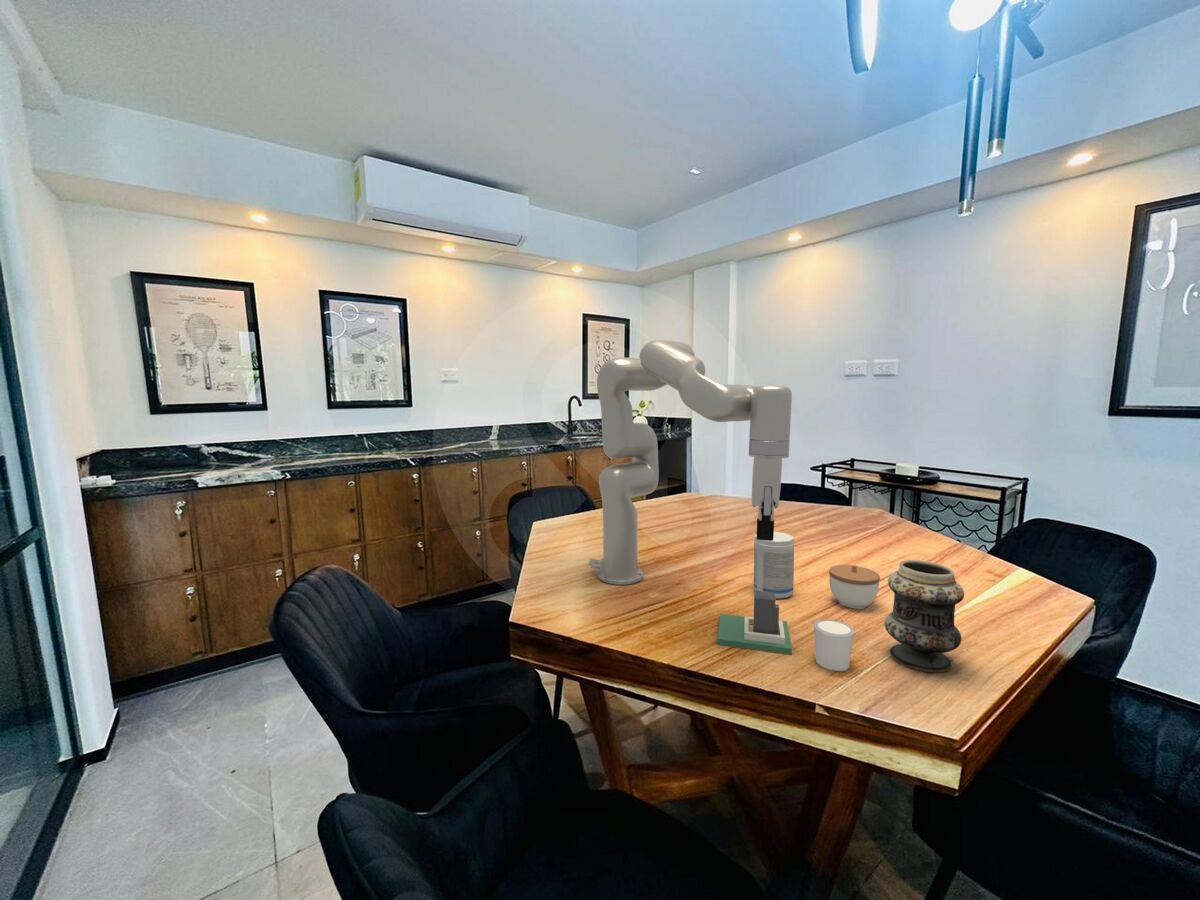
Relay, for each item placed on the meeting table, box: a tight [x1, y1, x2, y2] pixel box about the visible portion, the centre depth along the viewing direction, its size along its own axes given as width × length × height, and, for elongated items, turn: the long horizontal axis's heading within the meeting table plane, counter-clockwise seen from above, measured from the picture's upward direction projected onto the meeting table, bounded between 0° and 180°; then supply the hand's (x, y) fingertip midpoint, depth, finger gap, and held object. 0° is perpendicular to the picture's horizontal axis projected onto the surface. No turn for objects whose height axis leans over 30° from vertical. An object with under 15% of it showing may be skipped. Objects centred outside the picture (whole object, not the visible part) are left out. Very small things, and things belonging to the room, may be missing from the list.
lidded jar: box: [828, 564, 881, 610], centre depth 116 cm, size 11×11×9 cm
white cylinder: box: [813, 618, 855, 672], centre depth 90 cm, size 7×7×7 cm
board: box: [716, 613, 793, 655], centre depth 101 cm, size 14×12×3 cm
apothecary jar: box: [883, 559, 965, 674], centre depth 91 cm, size 12×12×18 cm
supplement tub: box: [753, 531, 795, 600], centre depth 123 cm, size 10×10×15 cm
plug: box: [753, 590, 780, 635], centre depth 99 cm, size 5×4×8 cm
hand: (764, 538), depth 98 cm, fingers closed
